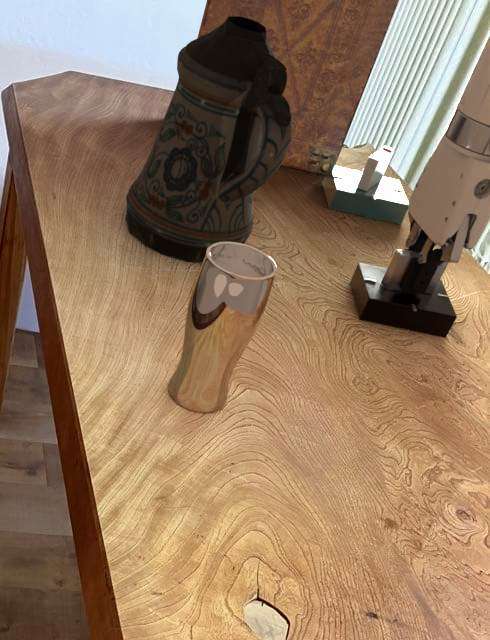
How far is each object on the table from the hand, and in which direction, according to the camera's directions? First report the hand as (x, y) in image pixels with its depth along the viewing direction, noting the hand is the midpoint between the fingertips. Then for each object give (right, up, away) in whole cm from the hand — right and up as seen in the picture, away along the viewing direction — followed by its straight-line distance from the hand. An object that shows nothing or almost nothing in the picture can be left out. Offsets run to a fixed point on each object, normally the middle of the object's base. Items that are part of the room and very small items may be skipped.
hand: (408, 285), depth 109 cm
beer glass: (-28, -17, -19) cm, 38 cm away
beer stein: (-25, +8, +6) cm, 27 cm away
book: (-13, +31, +33) cm, 47 cm away
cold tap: (+2, +21, +22) cm, 31 cm away
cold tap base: (+2, +19, +24) cm, 31 cm away
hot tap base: (-1, -2, +2) cm, 3 cm away
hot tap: (0, 0, 0) cm, 0 cm away
